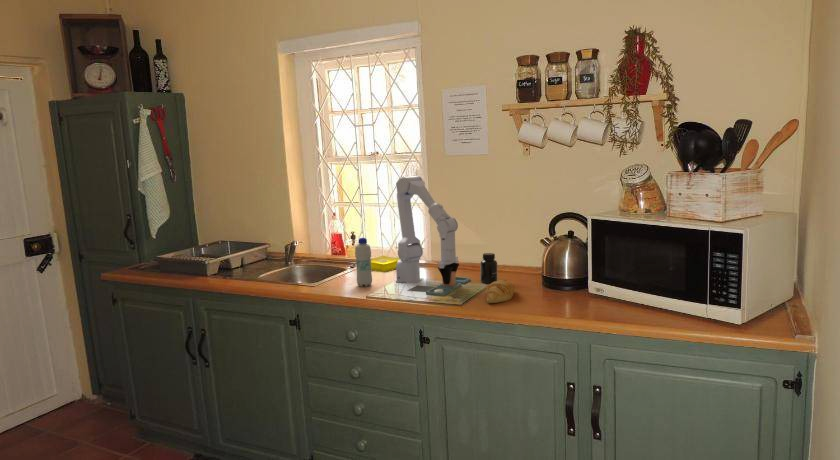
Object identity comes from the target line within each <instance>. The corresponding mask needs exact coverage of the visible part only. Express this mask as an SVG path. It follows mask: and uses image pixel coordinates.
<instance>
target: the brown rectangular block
mask: <svg viewBox="0 0 840 460" xmlns="http://www.w3.org/2000/svg"><path fill="white" fill-rule="evenodd" d="M456 274H457V271H451V276H450V284H444V282H443V278H442V277H441V278H442V283H443V286H450V287H454V286H455V285H456V277H457V276H456ZM442 283H441V284H442Z"/></svg>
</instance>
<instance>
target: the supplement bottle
mask: <svg viewBox="0 0 840 460" xmlns="http://www.w3.org/2000/svg"><path fill="white" fill-rule="evenodd" d="M495 281H498V261H497V260H496V255H495V253H493V252H492V253H491V252H486V253H485V252H484V253H482V260H481V261H480V283H481V284H483V285H484V284H485V285H490V284H491V283H492V282H495Z"/></svg>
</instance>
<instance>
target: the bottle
mask: <svg viewBox="0 0 840 460" xmlns="http://www.w3.org/2000/svg"><path fill="white" fill-rule="evenodd" d="M367 241H368V239H367V238H366V237H360V238H358V244H357V245H355V250H354V255H355V260H356V261H355V262H356V263H355V264H356V283H357V286H358V287H360V288H361V287H363V288H364V287H370V286H371V285H372V284H373V283H372V282H373V274H372V270H371V259H372V258H371V257H372V252H371V251H372V250H371V245H370V244H368V242H367Z"/></svg>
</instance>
